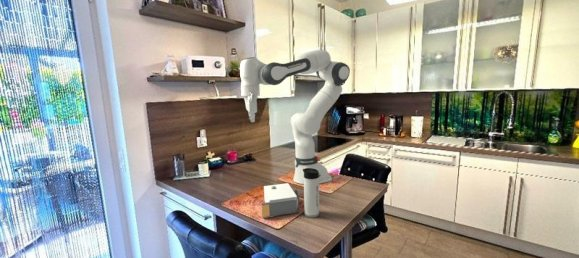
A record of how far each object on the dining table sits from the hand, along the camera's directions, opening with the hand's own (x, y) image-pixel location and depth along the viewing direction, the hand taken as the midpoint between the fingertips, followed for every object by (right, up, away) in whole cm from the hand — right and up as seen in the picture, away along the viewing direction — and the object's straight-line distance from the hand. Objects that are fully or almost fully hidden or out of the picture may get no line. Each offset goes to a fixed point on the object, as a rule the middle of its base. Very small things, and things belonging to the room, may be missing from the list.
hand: (251, 120), depth 121 cm
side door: (+15, -40, -17) cm, 46 cm away
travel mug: (+28, -40, -16) cm, 52 cm away
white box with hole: (+14, -39, -8) cm, 42 cm away
